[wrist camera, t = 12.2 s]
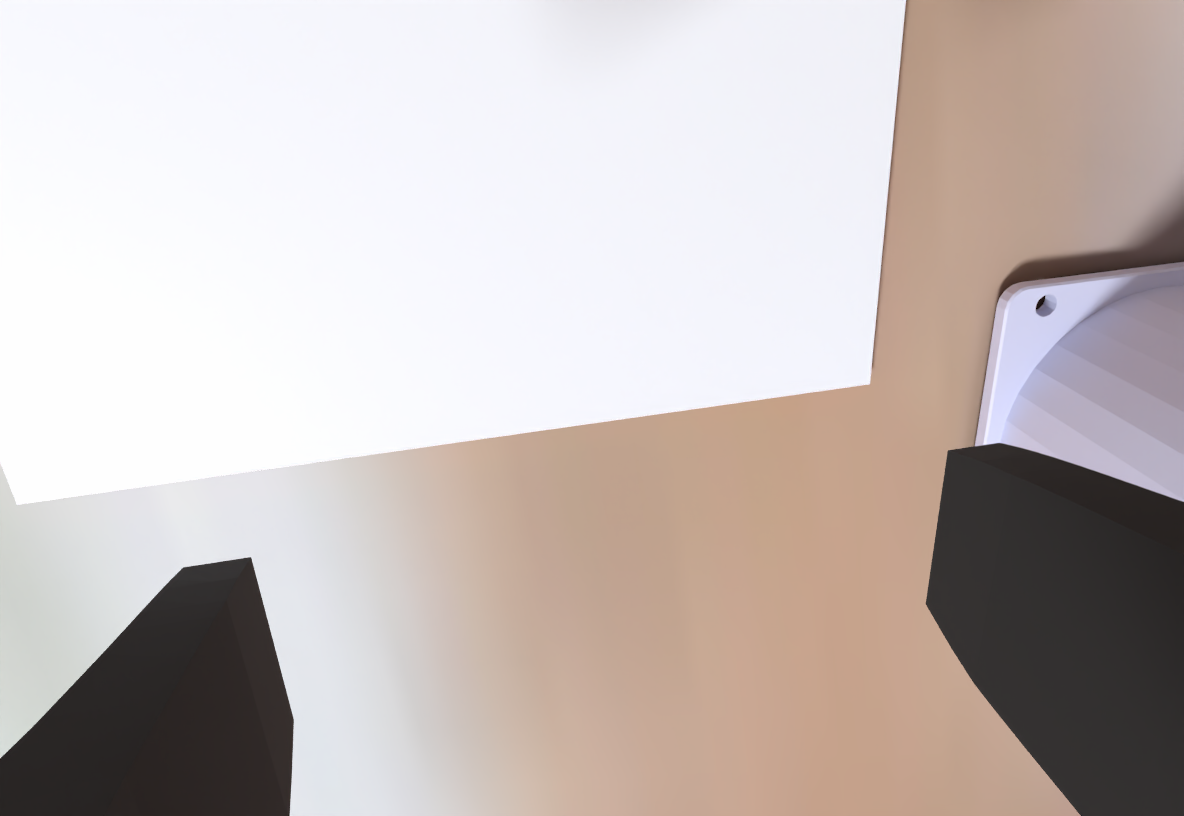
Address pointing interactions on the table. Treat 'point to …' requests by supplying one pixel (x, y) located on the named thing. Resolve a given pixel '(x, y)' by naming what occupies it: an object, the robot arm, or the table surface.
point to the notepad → (423, 222)
